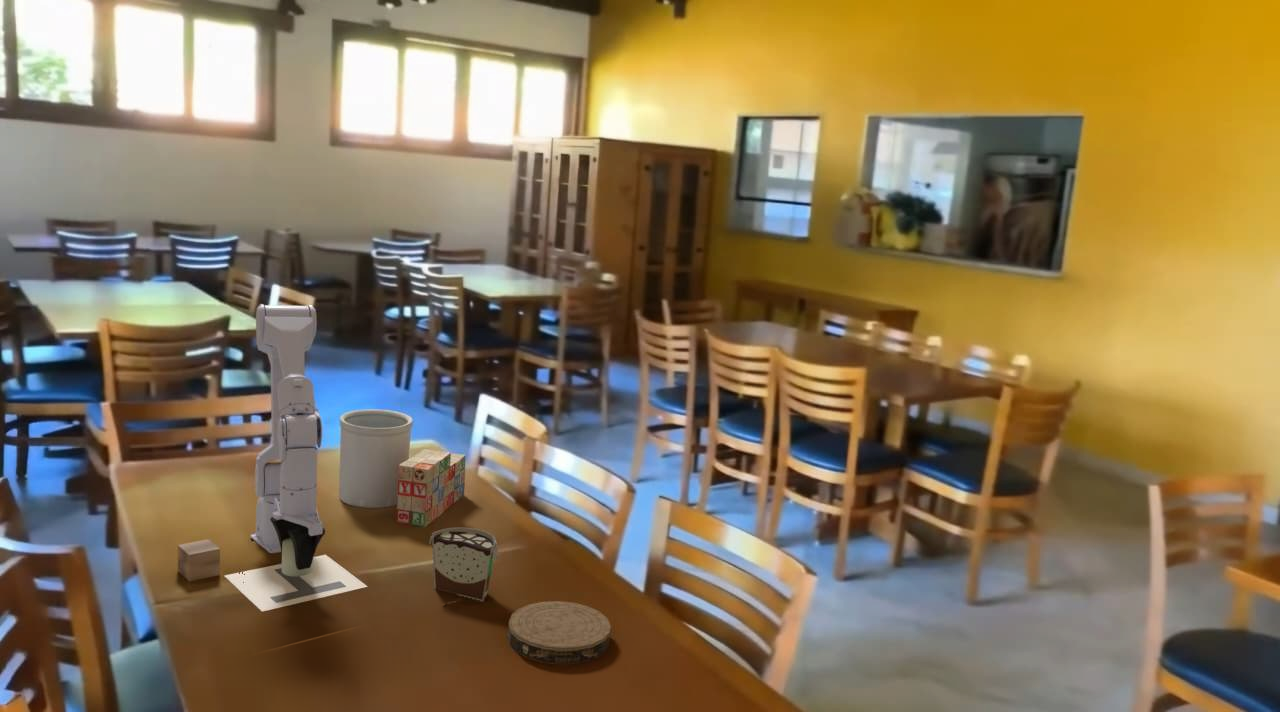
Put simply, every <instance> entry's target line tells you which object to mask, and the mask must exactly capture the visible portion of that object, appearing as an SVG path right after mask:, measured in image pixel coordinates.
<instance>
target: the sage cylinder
mask: <svg viewBox="0 0 1280 712" xmlns="http://www.w3.org/2000/svg"><path fill="white" fill-rule="evenodd" d="M281 564H282V569H281V572H282V573H283V574H285V575H288V576H304V575H308V574H310V573H311V572H312V571H313V560H312V564H311V567H310V568H306V569H302V570H298V569H297V567H296V562H295V552H294V546H293V543H292V540H291V538H288V539H285V540H284V541H283V542H282V552H281Z"/></svg>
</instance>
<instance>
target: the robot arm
mask: <svg viewBox="0 0 1280 712" xmlns="http://www.w3.org/2000/svg"><path fill="white" fill-rule="evenodd" d="M255 311H256V312H255V332H256V333H255V334H256V336H255V337H256V341H255V342H256V345H257V350H258V351H259V352H260V351H261V353H264V354H266V355H267V357H268V360H269V364H270V394H271V395H270V396H271V397H270V398H271V400H270V403H271V404H270V405H271V406H270V407H271V409H270V410H271V416H270V417H271V443H270V445H268V446H267V447H265V448H264V449H263V450H261V451H260V452H259V453H257V457H256V458H255V468H254V488H255V494H256V496H257V497H258V500H257V501H256V508H255V533H254V534H252V533H251V534H250V538H251V539H252V540H253V541H255V543H257V544H258V545H259V546H261V547H262V548H263V549H264V550H266V551H267V553H269V554H277V553H282V542H283V541H284V540H285V539H288V538H291V540H292V543H293V546H294V552H295V562H296V567H297V569H298V570H302V569H306V568H310V567H311V564H312V560H313V557H315V553H316V550H317V548H318V545H319V543H320V541H321V540H322V538H323V537H324V535H325V534H326V529H325V528H324V525H323V524H324V523H323V522H322V521H321V519H320V516H319V512H318V509H317V487H318V486H317V483H318V481H317V480H318V457H319V456H318V455H319V454H318V452H319V450H318V449H320V448H321V446H322V441H323V423H322V417H321V414H320V413H319V408H316V401H315V394H314V393H315V391H314V384H313V382H312V380H311V379H310V378H309V377H306V376H305V375H306V374H305V367H306V366H305V362H306V361H305V353H306V352H308V351H310V349H311V346H312V345H313V342H314V340H315V337H316V333H317V323H318V322H317V321H318V319H317V312H316V311H317V310H316V308H315V307H314V306H313V305H311V304H308V305H282V304H281V305H279V304H278V305H275V304H273V305H271V304H264V303H260V304H259V305H258V306H257V307H256V310H255ZM277 460H280V461H279V462H270V461H277Z"/></svg>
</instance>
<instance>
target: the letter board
mask: <svg viewBox="0 0 1280 712" xmlns="http://www.w3.org/2000/svg"><path fill="white" fill-rule="evenodd" d="M281 569H282V563H279V564H278V563H277V564H275V565H269V566H265V567H264V566H263V567H260V568H255V569H249V570H244V571H240V574H239V572H235V573H230V574H225V575H224V577H225V578H226V579H227V580H228V582H230V583H231V584H232V585H233V586H234V587H236V589H238V590H239V591H240V592H241V593H242V594H243V595H244V596H245V597H246V598H247V599H248V600H249V601H250V602H251V603H253V605H254V606H255V607H256V608H257V609H259V610H260V611H261V612H262V613H263V612H266V611H270V610H275V609H279V608H282V607H288V606H292V605H296V604H299V603H300V604H301V603H304V602H308V601H314V600H317V599H321V598H326V597H329V596H334V595H338V594H342V593H347V592H351V591H355V590H359V589H360V590H361V589H364V588H368V585H366V583H364V582H362V581H361V580H360V579H359V578H357V577H356V576H354V575H353V574H352V573H351V572H350V571H348V570H346V569H345V567H342V566H341V565H340V564H338V562H336V561H334V560H333V559H332V558H331V557H329V556H328V555H327V554H322V555H318V556H314V557H313V571H312V572H311V573H310V574H308V575H304V576H288V575H285V574H283V573H282V572H281ZM242 572H243V574H242ZM244 574H245V575H244ZM243 582H244V583H243Z"/></svg>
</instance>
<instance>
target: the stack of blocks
mask: <svg viewBox="0 0 1280 712" xmlns="http://www.w3.org/2000/svg"><path fill="white" fill-rule="evenodd" d="M466 457H467V455H465V454H462V453H461V454H459V453H451V452H449V451H442V450H441V451H440V450H439V451H438V450H433V449H426V448H424V449H422V450H420V451H419V452H418V453H416V454H414V455H412V456H411V457H409V459H408V460H407V461H405V462H403V463H401V464H400V465H399V475H398V479H399V480H398V501H397V504H396V505H397V507H396V517H395V518H396V523H398V524H405V525H411V526H417V527H423V528H425V527H427V526H428V525H429V524H430V523H433V521H435V520H436V519H437V518H439V517H440V516H441V515H442V514H443V513H444V512H445V511H446V510H448V508H450V507H451V506H452V505H453V504H455V503H456V502H457V501H459V500H460V499H461V498H462V497H463V496H465V483H466V481H465V480H466Z"/></svg>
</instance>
